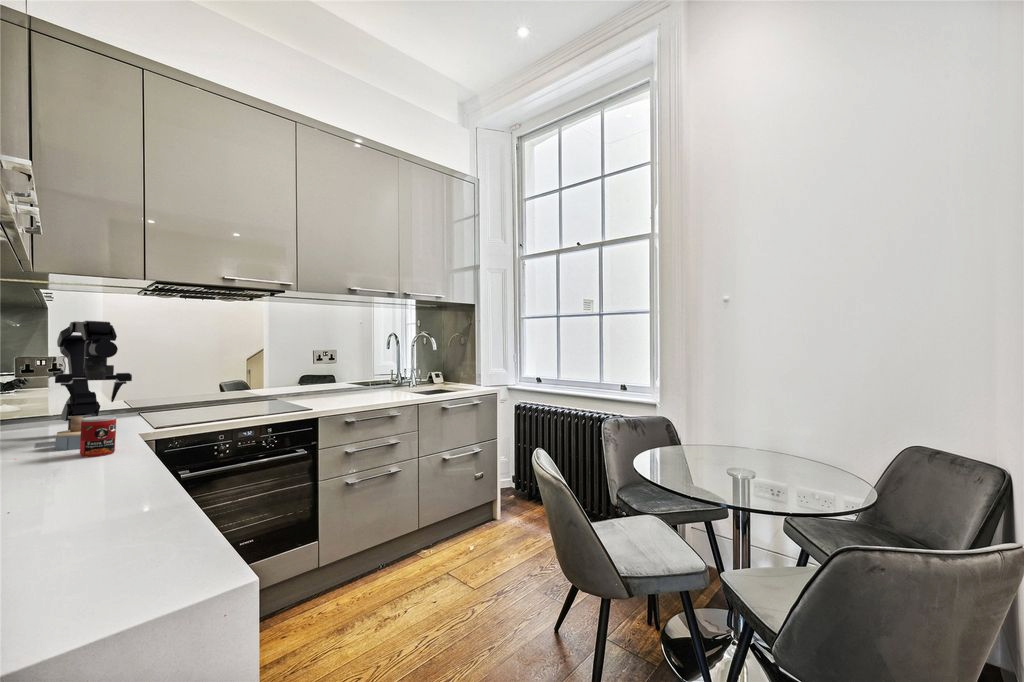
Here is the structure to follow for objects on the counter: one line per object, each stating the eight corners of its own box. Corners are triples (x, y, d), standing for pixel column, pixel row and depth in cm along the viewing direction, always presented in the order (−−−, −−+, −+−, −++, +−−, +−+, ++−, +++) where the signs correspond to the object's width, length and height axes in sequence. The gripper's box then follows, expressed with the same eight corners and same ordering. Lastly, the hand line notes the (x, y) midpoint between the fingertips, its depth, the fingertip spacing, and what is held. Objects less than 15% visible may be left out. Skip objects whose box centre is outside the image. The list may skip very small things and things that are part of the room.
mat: (35, 444, 140) (36, 442, 140) (71, 441, 146) (71, 439, 146) (34, 449, 133) (34, 447, 133) (71, 446, 139) (71, 444, 139)
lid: (56, 434, 135) (57, 416, 136) (94, 431, 142) (95, 414, 142) (56, 438, 129) (57, 419, 130) (95, 434, 136) (96, 417, 136)
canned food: (82, 458, 123) (84, 420, 124) (77, 454, 128) (78, 417, 129) (117, 454, 130) (119, 417, 130) (111, 450, 134) (113, 414, 135)
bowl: (55, 448, 135) (56, 434, 135) (95, 444, 142) (95, 430, 142) (54, 453, 129) (55, 438, 129) (96, 449, 136) (96, 434, 136)
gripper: (55, 357, 135) (53, 407, 135) (134, 358, 149) (132, 403, 148) (56, 357, 143) (54, 404, 142) (131, 357, 156) (129, 400, 156)
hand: (93, 403), depth 147 cm, fingers open, 9 cm apart
